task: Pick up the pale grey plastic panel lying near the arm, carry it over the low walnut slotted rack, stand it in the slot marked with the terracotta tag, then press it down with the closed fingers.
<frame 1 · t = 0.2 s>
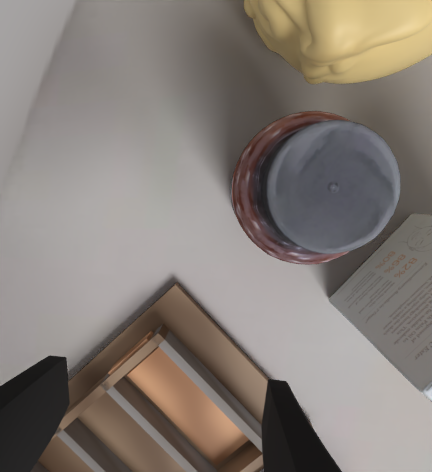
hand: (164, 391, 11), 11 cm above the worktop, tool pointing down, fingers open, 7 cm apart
small box: (395, 281, 21), on the worktop
sculpture: (332, 8, 19), on the worktop
slot rack: (145, 438, 23), on the worktop
supplement bottle: (274, 192, 20), on the worktop
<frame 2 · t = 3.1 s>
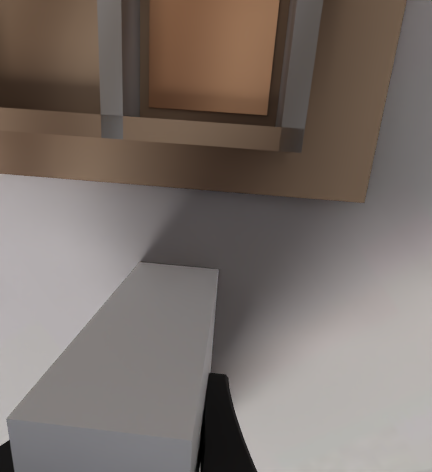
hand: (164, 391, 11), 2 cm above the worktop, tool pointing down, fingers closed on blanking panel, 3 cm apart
blanking panel: (175, 355, 13), on the worktop, touching gripper
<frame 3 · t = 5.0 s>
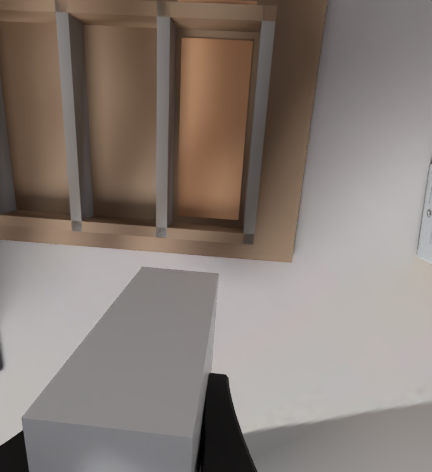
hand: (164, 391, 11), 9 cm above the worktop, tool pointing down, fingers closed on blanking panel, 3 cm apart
slot rack: (129, 130, 18), on the worktop
blanking panel: (177, 357, 13), point 7 cm above the worktop, touching gripper
when the fingers open (4 cm above the worktop, at t = 7.2 s): blanking panel stays where it is, resting on slot rack.
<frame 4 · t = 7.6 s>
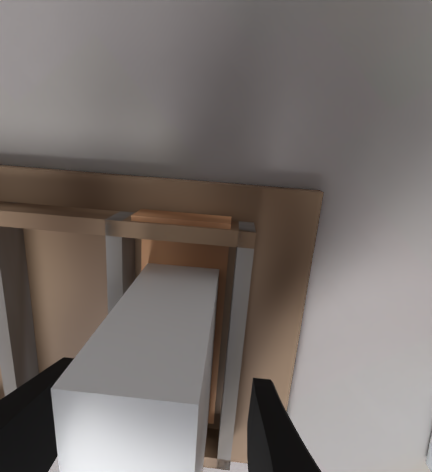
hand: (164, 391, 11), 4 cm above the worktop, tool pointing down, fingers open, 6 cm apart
slot rack: (83, 319, 15), on the worktop
blanking panel: (180, 348, 14), point 1 cm above the worktop, touching slot rack
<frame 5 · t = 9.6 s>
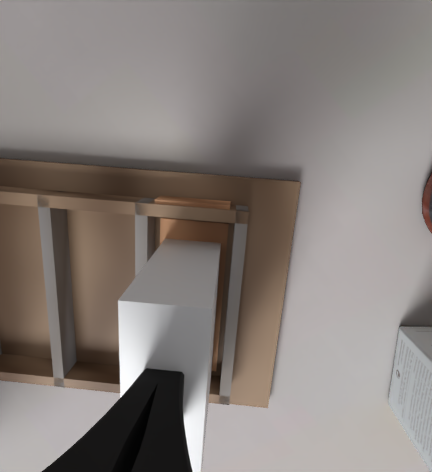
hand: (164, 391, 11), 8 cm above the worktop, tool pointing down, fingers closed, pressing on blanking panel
slot rack: (111, 286, 18), on the worktop
blanking panel: (189, 307, 18), point 1 cm above the worktop, touching gripper, slot rack
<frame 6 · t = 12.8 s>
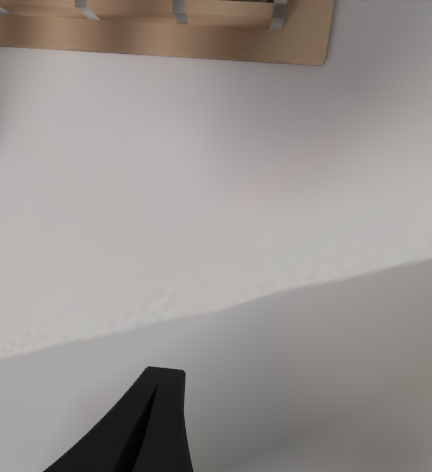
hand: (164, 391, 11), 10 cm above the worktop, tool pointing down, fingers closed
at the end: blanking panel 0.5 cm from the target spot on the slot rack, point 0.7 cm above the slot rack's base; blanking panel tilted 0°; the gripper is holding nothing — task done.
